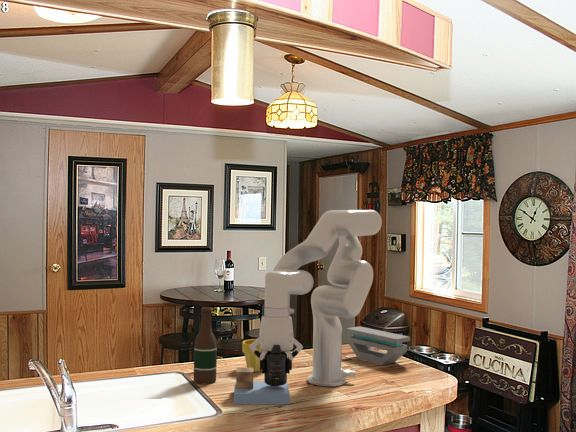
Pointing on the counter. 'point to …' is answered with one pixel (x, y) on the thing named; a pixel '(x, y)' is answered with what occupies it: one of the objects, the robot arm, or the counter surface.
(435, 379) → the counter surface
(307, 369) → the counter surface
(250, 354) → the plant pot
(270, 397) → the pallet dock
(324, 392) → the counter surface
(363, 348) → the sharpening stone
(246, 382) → the block
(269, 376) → the supplement bottle
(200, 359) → the beer bottle
